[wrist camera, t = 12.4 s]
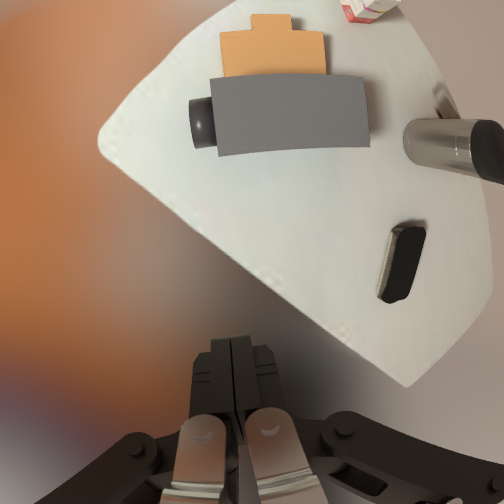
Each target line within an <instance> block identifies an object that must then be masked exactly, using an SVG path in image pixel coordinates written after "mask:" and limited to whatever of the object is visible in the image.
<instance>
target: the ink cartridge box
mask: <svg viewBox="0 0 504 504" xmlns="http://www.w3.org/2000/svg"><path fill="white" fill-rule="evenodd" d="M340 2H341V4H342V6H343V9H344V11H345V14H346V16H347V18H348V21H349V22H357V23H367V24H369V23H371V22H372V21H374V20H375V19H377V18H378V17H379V16H381V15H382V14H384V13H385V12H387V11H388V10H390V9H391V8H393V7H394V6H396V5H397V4H399V3H400V2H401V0H340Z"/></svg>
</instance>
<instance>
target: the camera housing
mask: <svg viewBox="0 0 504 504" xmlns="http://www.w3.org/2000/svg"><path fill="white" fill-rule="evenodd" d="M210 87H211V96H212V97H206V98H200V99H193V100H189V118H190V126H191V133H192V138H193V143H194V146H195V148H196V149H198V148H204V147H211V146H217V147H218V155H219V157H221V156H228V155H236V154H245V153H254V152H264V151H276V150H289V149H305V148H329V147H370V136H369V124H368V114H367V105H366V97H365V89H364V82H363V78H362V77H353V76H343V75H329V74H305V73H280V74H256V75H242V76H231V77H222V78H214V79H210Z"/></svg>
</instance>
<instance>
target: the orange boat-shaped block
mask: <svg viewBox="0 0 504 504" xmlns="http://www.w3.org/2000/svg"><path fill="white" fill-rule="evenodd" d="M250 18H251V27H252V30H246V31H232V32H221V33H220V44H221V53H222V63H223V73H224V77H231V76H242V75H256V74H280V73H305V74H326V61H325V50H324V40H323V32H316V31H302V30H292V24H291V16H290V14H251V17H250Z"/></svg>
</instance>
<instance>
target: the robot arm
mask: <svg viewBox="0 0 504 504" xmlns="http://www.w3.org/2000/svg"><path fill="white" fill-rule="evenodd" d="M403 142H404V148H405V151H406V153H407V155H408V157H409V158H410V160H411V161H412V162H414V163H415V164H417V165H421V166H426V167H431V168H436V169H441V170H446V171H451V172H455V173H460V174H464V175H468V176H473V177H477V178H481V179H484V180H488V181H491V182H496V183H499V184H502V185H504V129H503V128H502V126H500V124H498V123H497V122H495V121H492V120H479V119H423V120H413V121H411V122H410V123H409V124H408V125H407V127H406V129H405V131H404V136H403ZM231 341H232V343H231ZM244 438H245V441H246V444H247V445H249V450H250V454H251V459H252V463H253V467H254V472H255V476H256V480H257V484H258V491H259V495H260V499H261V503H262V504H328V501H327V499H326V496H325V494H324V491H323V489H322V486H321V484H320V482H319V480H318V478H317V476H316V475H315V474H319V475H320V476H322V477H324V478H325V479H327V480H329V481H331V482H333V483H334V484H336V485H338V486H340V487H342V488H344V489H346V490H348V491H350V492H352V493H354V494H356V495H358V496H360V497H362V498H364V499H366V500H369V501H371V502H373V503H376V504H497V503H499V502H501V501H502V500H503V499H504V465H503V464H498V463H494V462H490V461H485V460H481V459H478V458H474V457H471V456H467V455H464V454H460V453H457V452H454V451H451V450H448V449H444V448H442V447H439V446H436V445H433V444H430V443H427V442H425V441H422V440H419V439H417V438H414V437H411V436H409V435H406V434H404V433H401V432H399V431H396V430H394V429H392V428H389V427H387V426H384V425H382V424H380V423H377V422H375V421H373V420H371V419H369V418H366V417H364V416H362V415H360V414H358V413H355V412H352V411H341V412H337V413H334V414H332V415H330V416H329V417H328V418H327V419H326V420H308V419H303V418H300V417H297V416H296V415H294V414H293V413H291V412H290V410H289V409H288V408H287V405H286V403H285V398H284V394H283V390H282V386H281V382H280V378H279V374H278V370H277V367H276V362H275V358H274V354H273V352H272V351H271V350H270V349H269V348H268V347H267V346H266V345H261V346H253V347H252V344H251V339H250V334H245V335H238V336H231V338H230V337H222V338H214V339H211V352H205V353H199V355H198V357H197V358H196V359H195V361H194V363H193V375H192V385H191V398H190V410H189V418H188V420H187V421H186V422H185V423H184V424H183V425H182V427H181V430H179V431H178V432H176V433H174V434H171V435H168V436H164V437H160V438H156V439H153V438H152V437H151V436H149V435H148V434H145V433H142V432H134V433H130V434H127V435H125V436H124V437H123V438H122V439H120V440H119V441H118V442H117V443H115V444H114V445H113V446H112V447H111V448H109V449H108V450H107V451H105V452H104V453H103V454H102V455H100V456H99V457H98V458H97V459H95V460H94V461H93V462H91V463H90V464H89V465H88V466H86V467H85V468H84V469H82V470H81V471H80V472H78V473H77V474H76V475H74V476H73V477H72V478H70V479H69V480H67V481H66V482H65V483H63V484H62V485H61V486H59V487H58V488H56V489H55V490H54V491H52V492H51V493H49V494H48V495H46V496H45V497H43V498H42V499H40V500H39V501H37V502H36V503H34V504H240V492H239V491H240V487H239V486H240V480H239V479H240V477H239V476H240V474H239V473H240V471H239V470H240V467H239V452H238V446H240V445H244Z"/></svg>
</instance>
